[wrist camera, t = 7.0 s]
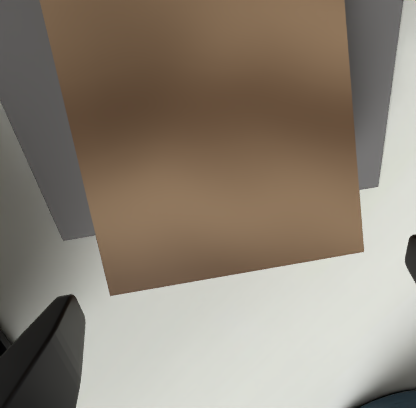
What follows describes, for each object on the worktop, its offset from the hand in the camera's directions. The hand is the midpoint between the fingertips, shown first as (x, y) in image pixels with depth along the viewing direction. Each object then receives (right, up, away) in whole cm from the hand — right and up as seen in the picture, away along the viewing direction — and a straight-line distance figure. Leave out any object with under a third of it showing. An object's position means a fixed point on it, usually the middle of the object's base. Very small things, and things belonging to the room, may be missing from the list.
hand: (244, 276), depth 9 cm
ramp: (-1, +6, +4) cm, 7 cm away
